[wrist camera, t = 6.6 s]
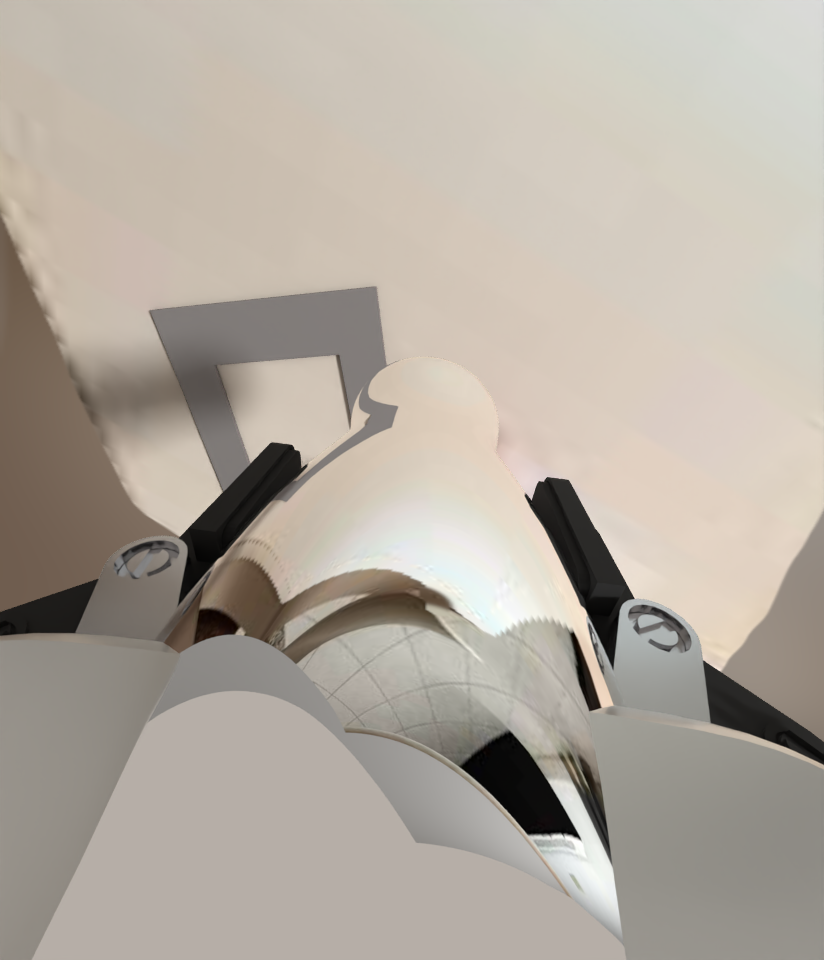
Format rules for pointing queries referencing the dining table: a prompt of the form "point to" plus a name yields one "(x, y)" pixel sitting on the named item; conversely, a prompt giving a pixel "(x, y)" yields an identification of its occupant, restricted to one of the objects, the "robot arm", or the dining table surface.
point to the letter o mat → (265, 352)
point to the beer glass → (369, 722)
